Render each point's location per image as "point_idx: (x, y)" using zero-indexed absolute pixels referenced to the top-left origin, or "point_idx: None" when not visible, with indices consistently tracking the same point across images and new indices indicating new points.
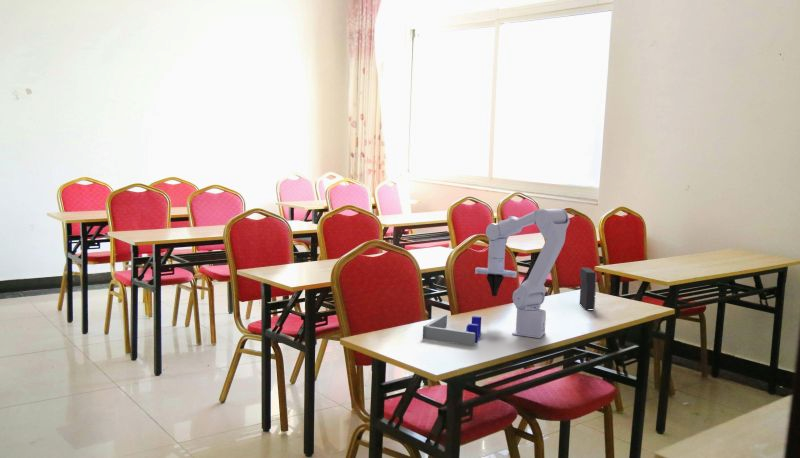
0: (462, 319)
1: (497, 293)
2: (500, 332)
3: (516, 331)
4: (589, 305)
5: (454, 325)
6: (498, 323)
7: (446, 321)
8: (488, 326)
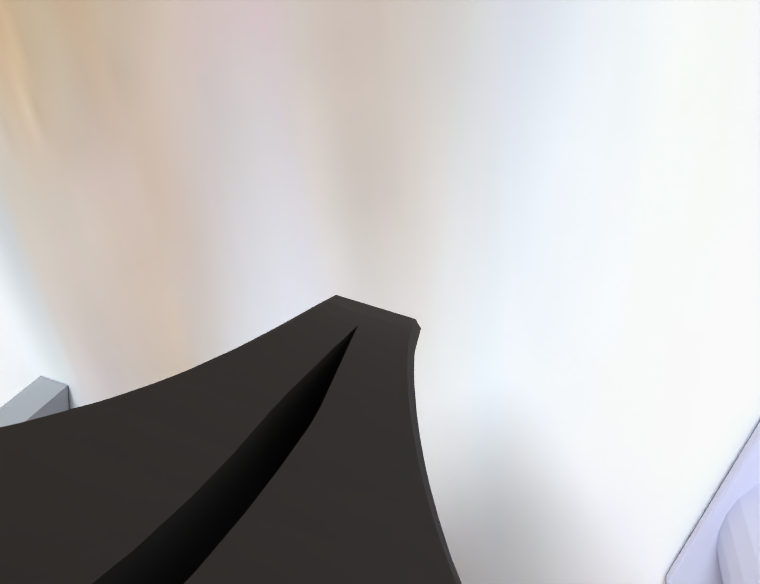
0: (101, 92)
1: (415, 344)
2: (549, 512)
3: (720, 572)
4: None
5: (114, 351)
6: (533, 163)
7: (38, 417)
8: None
